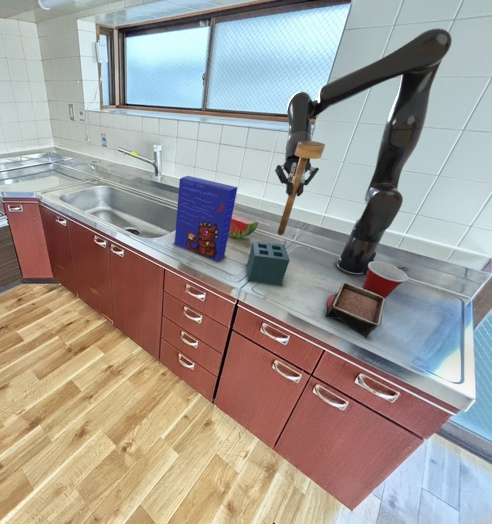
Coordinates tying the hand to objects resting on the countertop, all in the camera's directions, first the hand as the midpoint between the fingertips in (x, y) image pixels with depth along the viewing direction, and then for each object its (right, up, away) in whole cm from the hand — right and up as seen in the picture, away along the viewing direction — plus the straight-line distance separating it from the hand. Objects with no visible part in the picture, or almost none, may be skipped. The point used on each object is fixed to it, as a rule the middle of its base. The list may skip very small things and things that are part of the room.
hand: (294, 194), depth 94 cm
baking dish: (+15, -40, -4) cm, 43 cm away
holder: (-4, -27, +15) cm, 31 cm away
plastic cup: (+29, -35, +4) cm, 45 cm away
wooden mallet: (0, -14, +9) cm, 16 cm away
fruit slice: (-8, -8, +46) cm, 48 cm away
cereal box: (-25, -17, +31) cm, 44 cm away
